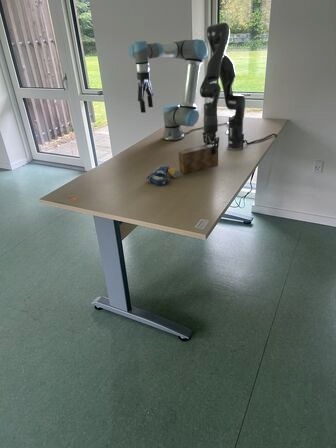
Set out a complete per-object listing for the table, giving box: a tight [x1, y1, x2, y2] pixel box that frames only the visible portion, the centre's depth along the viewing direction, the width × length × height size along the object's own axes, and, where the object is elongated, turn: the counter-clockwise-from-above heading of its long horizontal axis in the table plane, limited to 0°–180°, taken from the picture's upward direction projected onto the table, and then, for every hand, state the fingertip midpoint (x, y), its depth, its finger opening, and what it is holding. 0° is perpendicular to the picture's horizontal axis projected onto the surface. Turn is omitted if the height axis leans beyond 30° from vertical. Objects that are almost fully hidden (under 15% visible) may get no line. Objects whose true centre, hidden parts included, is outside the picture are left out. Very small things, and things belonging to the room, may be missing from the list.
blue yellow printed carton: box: [146, 164, 180, 186], centre depth 185 cm, size 21×4×15 cm
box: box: [177, 144, 219, 175], centre depth 187 cm, size 22×6×12 cm, turn 114°
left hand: (147, 109), depth 203 cm, fingers open, 13 cm apart
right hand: (211, 152), depth 189 cm, fingers closed on box, 5 cm apart
